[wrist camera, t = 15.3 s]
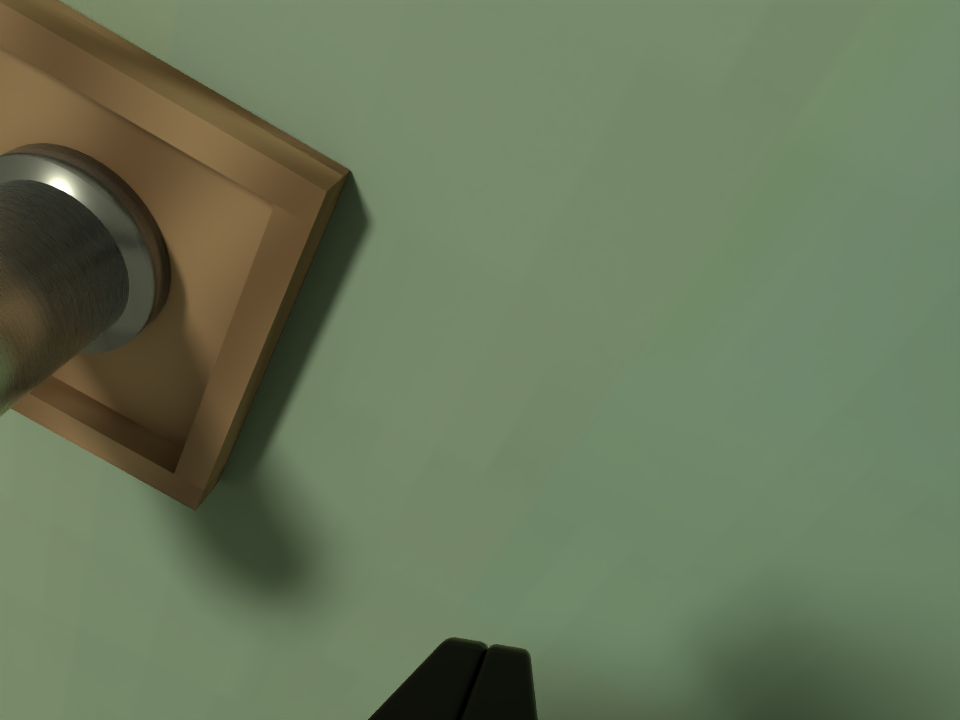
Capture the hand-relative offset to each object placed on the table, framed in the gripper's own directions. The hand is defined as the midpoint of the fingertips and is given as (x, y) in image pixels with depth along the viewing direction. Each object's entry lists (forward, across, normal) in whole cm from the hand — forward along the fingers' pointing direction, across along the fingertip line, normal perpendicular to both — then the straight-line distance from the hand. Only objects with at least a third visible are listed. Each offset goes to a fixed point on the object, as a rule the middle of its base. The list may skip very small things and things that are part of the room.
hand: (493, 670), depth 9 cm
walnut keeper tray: (+13, +15, +2) cm, 20 cm away
